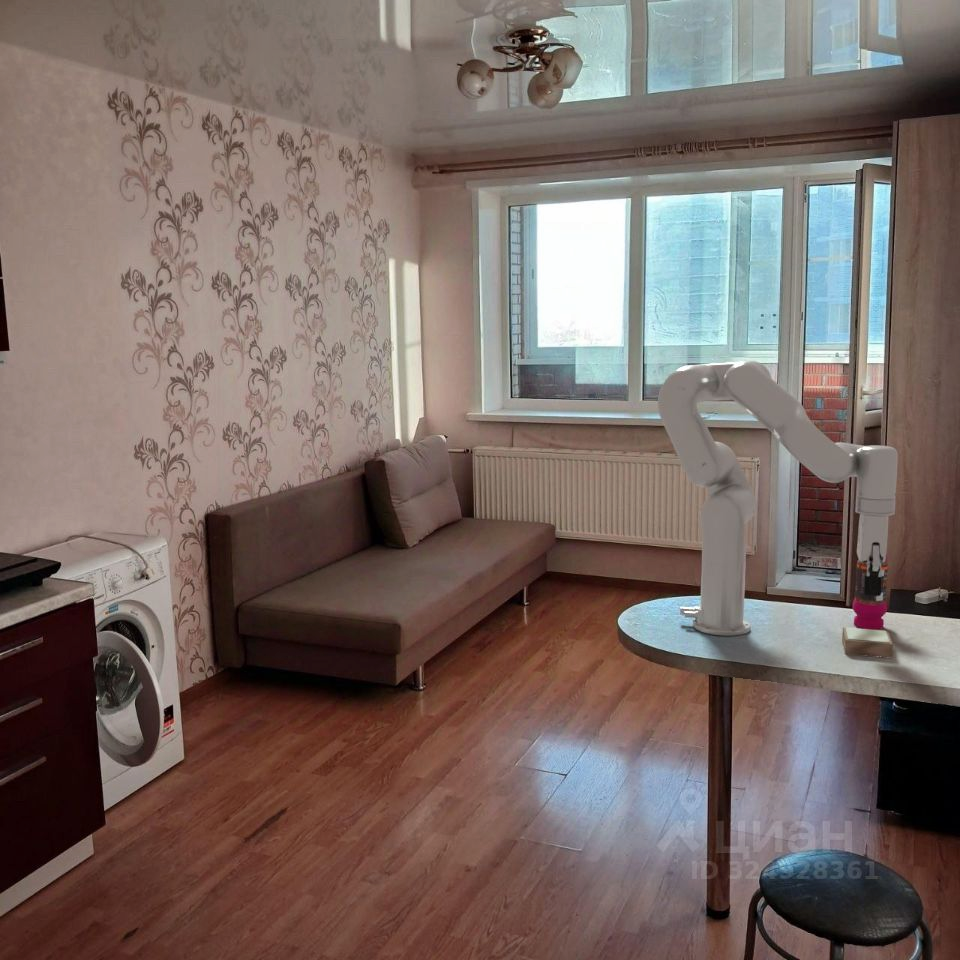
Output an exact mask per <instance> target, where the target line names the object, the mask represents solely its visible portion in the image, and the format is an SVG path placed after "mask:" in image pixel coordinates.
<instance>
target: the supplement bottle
mask: <svg viewBox="0 0 960 960" xmlns="http://www.w3.org/2000/svg"><path fill="white" fill-rule="evenodd" d="M869 561H872V559H869ZM866 562H867V561H865V560H864V561H863V562H861V561H860V560H859V559H858V560H857V561H856V577H855V594H854V599H856V601H857V602H859V603H862V604H867V605H882V604H884V603H885V601H886V598H887V583H888V570H889V568H888V567H889V566H888V564H889V563H888V560H887V561H886V560H885V562H884V563H882V564H881V576H882V584H881V595H880V596H872V595H865V594H864V582H865V576H866V567H867V563H866ZM870 566H872V565H870Z"/></svg>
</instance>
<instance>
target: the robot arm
mask: <svg viewBox="0 0 960 960" xmlns="http://www.w3.org/2000/svg"><path fill="white" fill-rule="evenodd" d="M657 398H658V399H657V409H658V414H659V417H660V420H661V422H662V424H663V426H664V429H665V431H666V432H667V436H668V437H669V438H670V441H671V444H672V445H673V446H672V447H673V448H674V450H675V453H676V455H677V457H678V459H679V462H680V464H681V466H682V468H683V470H684V472H685V474H686V477H687V478H688V479H689V481H690V482H691V484H693V485H694V486H696V487H698V488H706V489H707V492H708V493H709V494H708V495H709V496H708V497H707V498H705V500H704V502H703V504H702V507H701V511H700V525H701V528H700V530H701V541H702V543H701V574H700V575H701V581H700V583H701V584H700V603H699V605H698V606H694V607H688V606H680V607H679V615H680V616H684V618H693V620H692V627H693V628H694V629H695V630H697V631H699V632H701V633H705V634H708V635H713V636H728V637H729V636H730V637H731V636H732V637H733V636H739V635H744V634H747V633H749V632H750V631H751V624H750V622H748V621H747V620H745V619H744V617H745V616H744V614H745V593H746V591H745V590H746V589H745V588H746V569H747V568H746V566H747V561H746V559H747V539H746V524H747V523H748V522H750V521H751V519H753V518H754V516H755V514H756V511H757V507H758V505H757V504H758V503H757V501H758V500H757V498H756V494H755V493H754V490H753V487H752V486H751V484H750V481H749V480H748V477H747V475H746V473H745V472H744V469H743V467H742V464H741V463H740V461H739V459H738V457H737V455H736V454H735V452H734V451H733V449H732V448H731V447H730V446H728V445H727V444H726V443H723V442H721V441H715V440H714V438H713V436H712V434H711V431H709V430H710V429H709V428H708V427H709V426H708V425H707V423H706V421H705V419H704V417H702V415H701V414H700V412H699V410H698V407H697V406H698V404H699V403H704V402H712V401H717V402H718V401H734V402H735V403H737V404H738V405H739V406H740V407H741V408H743V410H745V411H746V412H747V413H749V414H750V415H751V416H752V417H753V418H754V419H756V420H757V421H758V422H759V423H760V424H761V425H763V427H765V428H766V429H767V431H769V432H771V434H772V435H773V436H774V437H775V438H776V440H777V441H778V442H779V443H780V444H781V445H782V446H783V447H784V448H785V450H787V451H788V453H790V454H791V455H792V456H793V458H794V459H796V461H798V462H799V463H800V464H802V465H803V466H804V467H805V468H806V469H808V470H809V471H810V472H811V473H812V474H813V475H815V476H816V477H818V478H819V479H820V480H822V481H823V482H827V483H832V484H838V483H841V482H843V481H845V480H847V479H848V478H851V477H852V478H853V477H855V478H856V491H855V493H856V497H855V509H854V510H855V513H856V514H859V518H858V519H859V521H858V529H857V530H858V531H857V545H856V554H857V558H859V560H860V561H861V562H863V561H864V560H865V561H867V562H866V563H867V567H866V576H865V582H864V594H865V595H872V596H880V595H881V584H882V576H881V564H882V563H884V562H885V559H886V555H887V550H888V549H887V548H888V536H889V535H888V533H889V516H890V517H891V516H894V515H895V514H896V513H895V512H896V494H897V482H898V481H897V480H898V477H897V476H898V459H899V457H898V456H899V454H898V451H897V449H896V448H895V447H893V446H889V445H888V446H887V445H879V444H878V445H871V444H870V445H860V444H855V443H848V442H841V441H839V442H834V441H833V440H831V438H829V437H828V436H827V435H825V434H824V433H823V432H822V431H821V430H820V429H819V428H818V427H817V426H816V425H815V424H814V423H813V422H812V420H811V419H810V418H809V416H808V414H807V412H806V410H805V408H804V406H803V405H802V403H801V401H799V400H798V399H797V398H796V397H794V395H792V394H791V393H789V391H787V390H786V389H784V388H783V386H781V385H780V384H779V383H777V382H776V381H775V380H773V379H772V376H771V373H770V370H769V369H768V368H767V367H766V366H765V365H764V364H763V363H761V362H759V361H755V360H746V361H745V360H744V361H737V362H725V363H724V362H723V363H722V362H721V363H705V364H704V363H702V364H701V363H700V364H690V365H684V366H682V367H679V368H677V369H676V370H674V371H673V372H671V373H670V374H669V375H668V377H667V378H665V380H664V381H663V384H662V385H661V388H660V389H659V392H658V397H657ZM869 559H872V561H869ZM870 565H872V566H870Z"/></svg>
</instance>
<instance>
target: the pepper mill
mask: <svg viewBox="0 0 960 960" xmlns="http://www.w3.org/2000/svg"><path fill="white" fill-rule="evenodd" d="M887 555H888V554H886V559H885V560H886V561H887V562H888V556H887ZM857 558H858V557H857ZM858 559H859V558H858ZM852 610H853V611H854V613H855V614H856V615H855V616H854V617H853V625H854V627H856V628H858V629H871V630H882V629H884V623H885V621H884V619H883V618H882V617H884V616H885V614H887V610H888V605H887V602H886V601H885V603H884V604H882V605H867V604H862V603H859V602H857V601H856V599H855V598H854V599H853V601H852Z"/></svg>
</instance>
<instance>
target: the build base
mask: <svg viewBox="0 0 960 960" xmlns="http://www.w3.org/2000/svg"><path fill="white" fill-rule="evenodd" d="M841 633H842V635H841V642H842V643H841V644H842V645H843V646H842V647H844V648H843V650H844V655H850V654H851V655H852V656H853V655H854V656H861V655H867V656H866V657H872V656H879V657H878V658H884V657H892V658H893V645H894V644H893V642H892V639H891V636H890V633H889V631H888V630H882V629H880V630H871V629H861V628H858V627H856V628H855V627H842V632H841ZM880 656H881V657H880Z"/></svg>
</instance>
